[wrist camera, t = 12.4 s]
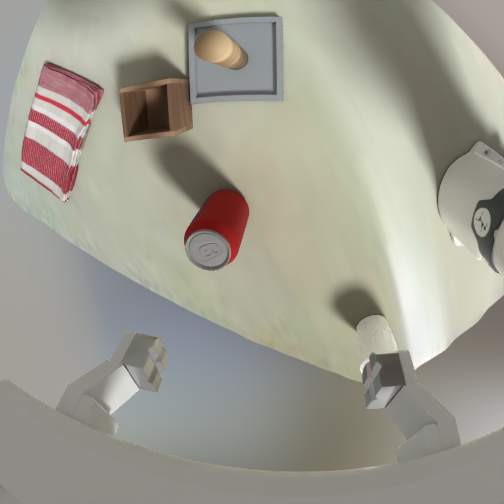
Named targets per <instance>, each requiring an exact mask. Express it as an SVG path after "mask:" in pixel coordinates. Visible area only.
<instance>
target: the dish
mask: <svg viewBox="0 0 504 504" xmlns="http://www.w3.org/2000/svg"><path fill="white" fill-rule="evenodd" d="M208 30H218V31H221V32H223V33H224V34H225V35H227V36H228V37H229V38H230V39H232V40H233V41H234V42H235V43H236V44H238V45H239V46H240V47H241V48H242V49H243V50H244V51H246V53H247V54H248V58H249V59H248V63H247V65H246V66H245V67H244V68H242V69H239V70H232V69H229V68H226V67H223V66H220V65H217V64H214V63H211V62H208V61H204V60H202V59H200V58H199V57H198V56H197V55H196V54H195V52H194V43H195V40H196V39H197V37H198V36H199V35H200V34H202V33H203V32H205V31H208ZM188 38H189V77H190V99H191V104H197V103H210V102H226V101H283V22H282V17H243V18H229V19H219V20H211V21H203V22H196V23H190V24H188Z"/></svg>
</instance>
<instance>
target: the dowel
mask: <svg viewBox="0 0 504 504" xmlns="http://www.w3.org/2000/svg"><path fill="white" fill-rule="evenodd" d="M194 52H195V54H196V55H197V56H198V57H199V58H200V59H202V60H204V61H208V62H211V63H214V64H217V65H220V66H223V67H226V68H229V69H232V70H239V69H242V68H244V67H245V66H246V65H247V63H248V59H249V58H248V54H247V53H246V51H244V50H243V49H242V48H241V47H240V46H239V45H238V44H236V43H235V42H234V41H233V40H232V39H230V38H229V37H228V36H227V35H225V34H224V33H223V32H221V31H218V30H208V31H205V32H203V33H202V34H200V35H199V36H198V37H197V39H196V40H195V43H194Z"/></svg>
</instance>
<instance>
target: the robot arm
mask: <svg viewBox="0 0 504 504" xmlns="http://www.w3.org/2000/svg"><path fill="white" fill-rule="evenodd" d="M485 151H486V153H485ZM438 207H439V213H440V216H441V218H442V221H443V222H444V224H445V225H446V226H447V228H448V229H449V230H450V233H451V238H452V241H453V243H454V244H455V245H456V246H463V245H464V246H465V247H466V248H467V249H468V250H469V251H470V252H471V253H472V254H473V255H474V256H475V257H476V258H477V259H479V260H481V259H485V261H486V263H487V264H488V265H489V266H490V267H491V268H492V269H493V270H494V271H495V272H497V273H499V274H501V276H502V277H503V278H504V157H503V156H501V155H500V154H499V153H497V152H496V151H495V150H493V149H492V148H490V147H489V146H488V145H486V144H485V143H483V142H481V141H478V142H477V143H476V144H475V145H474V146H473V147H472V149H471V150H470V152H468V153H467V154H465V155H463V156H461V157H460V158H458V159H457V160H456V161H455V162H454V163H453V164H452V165H451V166H450V167H449V168H448V170H447V172H446V173H445V175H444V177H443V180H442V182H441V185H440V189H439V195H438ZM162 346H163V341H162V339H161V338H159V337H154V336H149V335H144V334H139V333H135V332H129V331H127V332H126V333H125V334H124V335H123V338H122V339H121V341H120V343H119V344H118V346H117V348H116V350H115V352H114V354H113V356H112V358H111V360H110V361H109V360H106V361H105V362H104V363H102V364H100V365H99V366H97V367H96V368H94V369H93V370H91V371H90V372H88V373H87V374H85V375H83V376H82V377H80V378H79V379H77V380H76V381H74V382H73V383H71V384H70V385H68V386H67V388H66V390H65V392H64V394H63V396H62V398H61V400H60V402H59V404H58V406H57V408H56V410H55V409H53V408H52V407H50V406H48V405H46V404H45V403H43V402H41V401H39V400H38V399H36V398H35V397H33V396H31V395H30V394H28V393H27V392H25V391H24V390H22V389H21V388H19V387H17V386H16V385H15V384H13V383H12V382H10V381H8V380H2V381H0V504H504V427H503V428H500V429H498V430H496V431H494V432H492V433H490V434H487V435H485V436H483V437H480V438H478V439H475V440H473V441H470V442H468V443H465V444H463V445H461V444H460V439H459V434H458V429H457V424H456V420H455V417H454V416H453V415H452V414H451V413H450V412H449V411H448V410H447V409H446V408H445V407H444V406H443V405H442V404H441V403H440V402H439V401H438V400H437V399H436V398H435V397H434V396H433V395H432V394H431V393H430V392H429V391H428V390H427V389H426V388H425V387H424V386H423V385H422V384H418V381H417V378H416V374H415V370H414V367H413V363H412V360H411V357H410V353H409V351H408V350H400V351H380V352H372V353H371V354H370V356H369V360H370V361H369V362H368V363H366V364H365V366H364V369H363V374H362V381H363V386H364V387H365V388H366V389H367V391H366V393H365V395H364V397H365V405H366V409H374V408H385V409H386V411H387V412H388V414H389V415H390V416H391V418H392V419H393V420H394V422H395V423H396V425H397V426H398V427H399V429H400V430H401V431H402V433H403V434H404V436H405V437H406V438H407V440H406V441H405V442H404V443H402V444H401V445H400V446H399V447H398V448H397V458H398V462H397V463H393V464H387V465H381V466H374V467H368V468H359V469H350V470H338V471H319V472H283V471H265V470H253V469H243V468H235V467H227V466H221V465H215V464H209V463H204V462H198V461H194V460H189V459H185V458H180V457H176V456H172V455H168V454H164V453H161V452H158V451H154V450H151V449H147V448H144V447H141V446H138V445H135V444H132V443H129V442H126V441H124V440H121V439H118V438H116V437H114V436H115V433H116V431H117V428H118V425H119V424H118V422H117V421H116V420H115V419H114V418H113V417H112V416H111V414H112V413H113V412H114V411H115V410H117V409H118V408H119V407H120V406H121V405H122V404H123V403H124V402H126V401H127V400H128V399H129V398H130V397H131V396H133V395H134V394H135V393H136V392H137V391H138V390H139V388H140V389H144V390H148V391H153V392H158V389H159V387H160V384H161V381H162V378H161V375H160V374H162V373H163V372H164V371H165V370H166V367H167V364H168V353H167V350H166V349H165V348H163V347H162Z"/></svg>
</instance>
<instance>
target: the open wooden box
mask: <svg viewBox="0 0 504 504" xmlns="http://www.w3.org/2000/svg"><path fill="white" fill-rule="evenodd" d="M119 90H120V104H121V115H122V125H123V133H124V141H125V142H128V141H135V140H143V139H151V138H160V137H170V136H176V135H178V134H181V133H183V132H185V131H188V130H190V129H192V128H193V124H192V107H191V99H190V80H188V79H177V78H169V79H163V80H158V81H152V82H147V83H143V84H138V85H134V86H129V87H125V88H121V89H119Z"/></svg>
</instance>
